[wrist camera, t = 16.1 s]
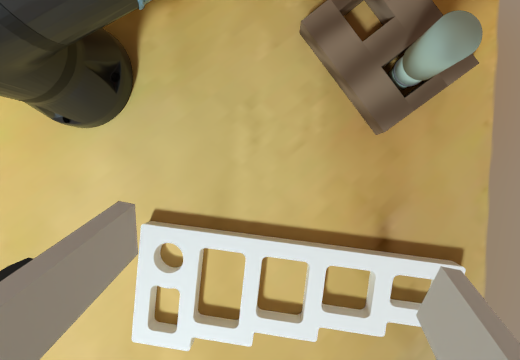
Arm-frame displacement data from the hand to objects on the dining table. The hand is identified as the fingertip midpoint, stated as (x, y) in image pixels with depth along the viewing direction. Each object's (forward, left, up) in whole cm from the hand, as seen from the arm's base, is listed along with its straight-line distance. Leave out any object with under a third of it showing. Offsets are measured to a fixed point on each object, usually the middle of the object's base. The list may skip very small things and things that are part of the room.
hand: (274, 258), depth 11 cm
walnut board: (-8, +23, -27) cm, 36 cm away
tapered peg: (-3, +23, -27) cm, 36 cm away
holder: (+13, -8, -28) cm, 32 cm away
